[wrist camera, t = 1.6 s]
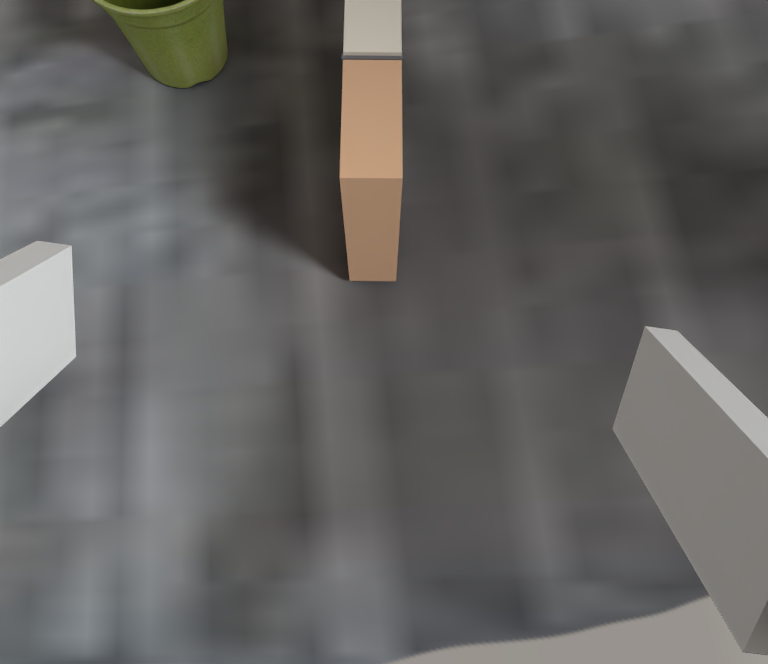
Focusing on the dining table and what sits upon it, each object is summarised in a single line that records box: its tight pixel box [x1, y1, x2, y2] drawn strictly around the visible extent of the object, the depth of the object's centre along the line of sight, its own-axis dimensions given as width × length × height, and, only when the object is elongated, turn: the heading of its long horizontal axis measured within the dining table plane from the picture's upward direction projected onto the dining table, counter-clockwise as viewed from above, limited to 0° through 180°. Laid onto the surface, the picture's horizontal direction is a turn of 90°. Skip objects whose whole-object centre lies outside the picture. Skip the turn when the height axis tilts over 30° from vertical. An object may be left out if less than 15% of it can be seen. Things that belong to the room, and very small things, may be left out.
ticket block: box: [341, 0, 403, 78], centre depth 42 cm, size 3×16×12 cm, turn 0°
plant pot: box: [92, 0, 227, 88], centre depth 45 cm, size 9×9×9 cm
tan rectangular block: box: [340, 60, 403, 281], centre depth 38 cm, size 3×7×12 cm, turn 0°
